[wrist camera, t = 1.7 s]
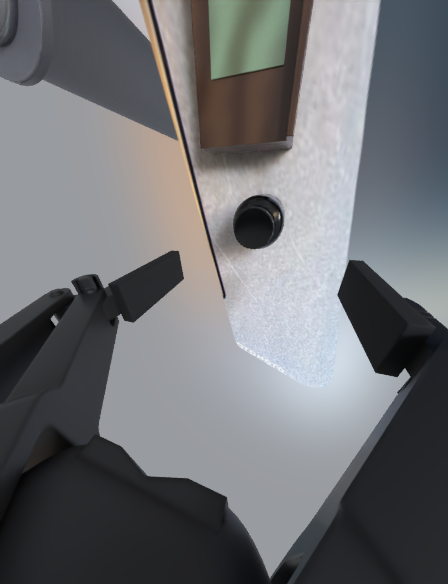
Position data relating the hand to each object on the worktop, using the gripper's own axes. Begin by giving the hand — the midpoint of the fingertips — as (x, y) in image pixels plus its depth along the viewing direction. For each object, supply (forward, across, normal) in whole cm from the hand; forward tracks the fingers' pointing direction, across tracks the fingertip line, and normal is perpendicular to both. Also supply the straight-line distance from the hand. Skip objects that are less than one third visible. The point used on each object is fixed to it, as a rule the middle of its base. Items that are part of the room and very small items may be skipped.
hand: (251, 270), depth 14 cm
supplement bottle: (+20, -1, +2) cm, 20 cm away
